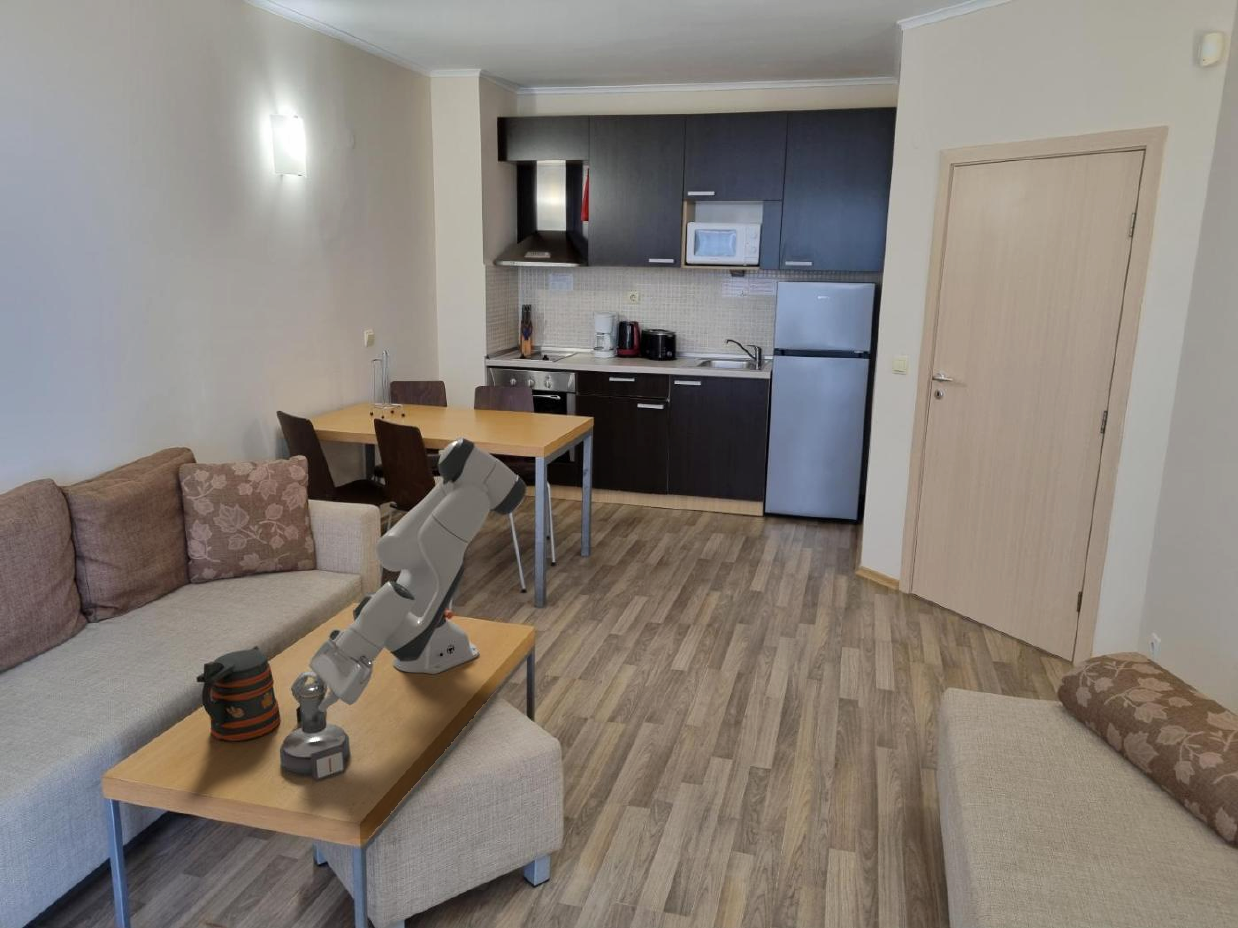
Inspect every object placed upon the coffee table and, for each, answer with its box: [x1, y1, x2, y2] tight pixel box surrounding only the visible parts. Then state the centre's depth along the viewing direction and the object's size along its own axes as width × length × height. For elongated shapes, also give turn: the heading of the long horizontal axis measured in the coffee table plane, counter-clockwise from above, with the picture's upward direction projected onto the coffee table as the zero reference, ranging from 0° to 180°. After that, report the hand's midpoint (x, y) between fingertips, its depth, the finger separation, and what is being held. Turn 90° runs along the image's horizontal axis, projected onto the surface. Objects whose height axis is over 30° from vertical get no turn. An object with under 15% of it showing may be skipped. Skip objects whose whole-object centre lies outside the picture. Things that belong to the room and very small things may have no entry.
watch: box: [290, 670, 328, 723], centre depth 203 cm, size 6×8×11 cm
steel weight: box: [299, 682, 327, 734], centre depth 185 cm, size 5×5×9 cm
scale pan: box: [282, 723, 346, 758], centre depth 187 cm, size 13×13×1 cm
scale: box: [279, 732, 351, 782], centre depth 186 cm, size 14×16×5 cm
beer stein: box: [196, 645, 282, 742], centre depth 196 cm, size 19×15×20 cm
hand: (314, 703), depth 185 cm, fingers closed on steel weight, 5 cm apart
